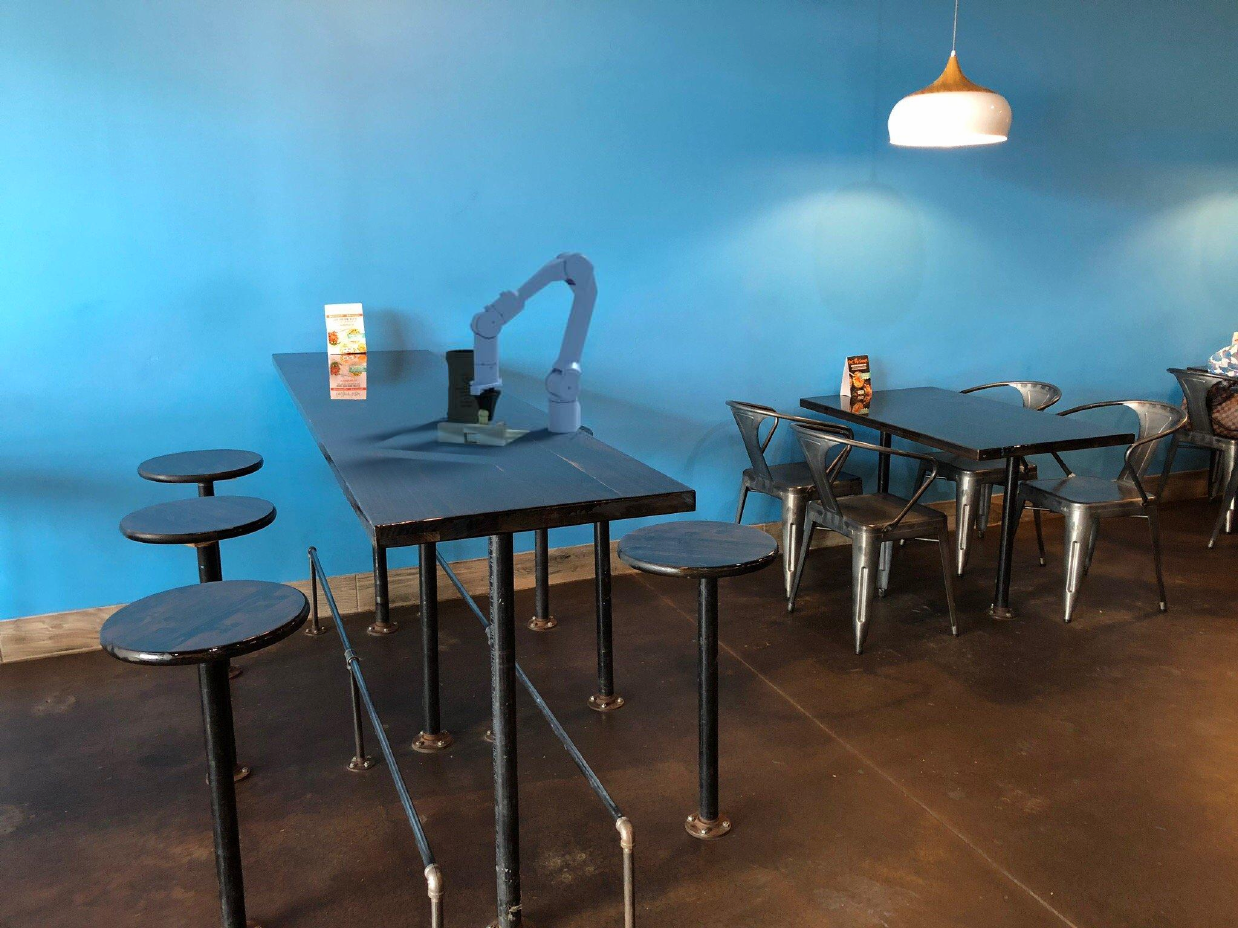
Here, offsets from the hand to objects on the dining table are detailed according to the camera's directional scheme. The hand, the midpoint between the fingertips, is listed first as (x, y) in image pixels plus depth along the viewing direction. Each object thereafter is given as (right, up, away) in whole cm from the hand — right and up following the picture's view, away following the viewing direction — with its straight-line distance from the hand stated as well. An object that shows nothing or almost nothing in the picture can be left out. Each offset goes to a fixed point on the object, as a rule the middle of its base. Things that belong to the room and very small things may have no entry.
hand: (487, 420), depth 225 cm
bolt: (-1, -5, -4) cm, 6 cm away
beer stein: (-8, -1, +20) cm, 22 cm away
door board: (0, -5, 0) cm, 5 cm away
